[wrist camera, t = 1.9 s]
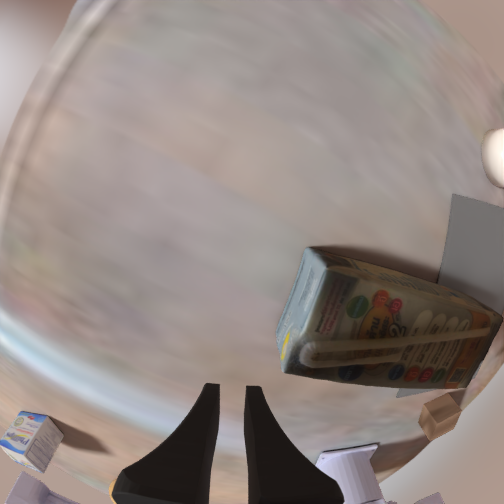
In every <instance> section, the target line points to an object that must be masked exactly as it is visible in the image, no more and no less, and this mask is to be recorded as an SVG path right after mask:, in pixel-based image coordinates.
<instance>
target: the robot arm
mask: <svg viewBox="0 0 504 504" xmlns="http://www.w3.org/2000/svg"><path fill="white" fill-rule="evenodd" d="M219 415H220V384H212V383H206V384H205V385H204V387H203V390H202V392H201V394H200V396H199V397H198V399H197V401H196V403H195V404H194V406H193V407H192V409H191V410H190V412H189V413H188V415H187V416H186V417H185V419H184V420H183V421H182V422H181V424H180V425H179V426H178V427H177V428H176V430H175V431H174V432H173V433H172V434H171V435H170V436H169V437H168V438H167V439H166V440H165V441H164V442H163V443H161V444H160V445H159V446H158V447H157V448H156V449H154V450H153V451H152V452H150V453H149V454H147V455H146V456H145V457H143V458H142V459H140V460H139V461H137V462H135V463H134V464H132V465H130V466H128V467H126V468H125V469H123V470H122V471H121V473H120V474H119V476H118V478H117V480H116V482H115V484H114V488H113V491H112V494H111V496H112V498H113V499H114V501H115V502H116V503H117V504H209V490H210V476H211V467H212V461H213V456H214V451H215V445H216V440H217V435H218V429H219ZM244 437H245V446H246V455H247V464H248V504H397V502H393V501H389V502H387V503H386V501H385V500H384V498H383V495H382V492H381V489H380V487H379V484H378V481H377V479H376V476H375V474H374V471H373V468H372V466H371V463H370V461H369V460H370V458H371V457H372V455H373V454H374V452H375V451H376V449H377V447H378V446H377V444H374V445H369V446H363V447H358V448H352V449H345V450H338V451H331V452H323V453H321V454H320V457H319V459H318V461H317V463H316V465H314V464H312V463H311V462H310V461H309V460H308V459H307V458H306V457H305V456H304V455H303V454H302V453H301V452H300V451H299V450H298V449H297V448H296V447H295V446H294V444H293V443H292V442H291V441H290V440H289V438H288V437H287V436H286V434H285V433H284V432H283V430H282V429H281V427H280V426H279V424H278V422H277V421H276V419H275V417H274V416H273V414H272V412H271V410H270V408H269V406H268V404H267V402H266V399H265V397H264V394H263V391H262V388H261V387H260V386H246V397H245V409H244ZM5 504H79V503H77V502H74V501H72V500H70V499H68V498H65V497H63V496H61V495H59V494H57V493H55V492H53V491H51V490H49V488H48V487H47V486H46V485H45V484H44V483H43V482H41V481H40V480H38V479H36V478H34V477H33V476H31V475H29V474H28V473H26V472H24V471H21V473H20V475H19V476H18V478H17V480H16V482H15V484H14V486H13V488H12V489H11V491H10V493H9V495H8V497H7V499H6V501H5ZM414 504H445V503H444V501H443V499H442V497H441V495H440V493H435V494H433V495H431V496H428V497H426V498H424V499H421V500H419V501H417V502H416V503H414Z"/></svg>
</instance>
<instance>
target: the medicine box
mask: <svg viewBox="0 0 504 504" xmlns="http://www.w3.org/2000/svg"><path fill="white" fill-rule="evenodd" d="M63 437H64V435H63V434H62V432H61V431H60V430H59V429H58V428H57V426H56V425H55V424H54V423H53V422H52V420H51V419H50V418H49V416H47V415H40V414H34V413H28V412H23V411H21V412H20V413H19V414H18V416H17V417H16V418H15V420H14V421H13V423H12V424H11V425H10V427H9V428H8V430H7V431H6V432H5V434H4V435H3V437H2V438H1V440H0V447H1V448H2V449H3V450H4V451H5V452H6V453H7V454H8V455H9V456H10V457H11V458H12V459H13V460H14V461H15V462H17V463H20V464H22V465H24V466H27V467H29V468H31V469H34V470H36V471H39V472H42V473H45V471H46V469H47V467H48V465H49V463H50V461H51V459H52V457H53V455H54V453H55V451H56V450H57V448H58V446H59V444H60V442H61V440H62V439H63Z"/></svg>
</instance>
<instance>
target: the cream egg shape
mask: <svg viewBox="0 0 504 504" xmlns="http://www.w3.org/2000/svg"><path fill="white" fill-rule="evenodd" d="M481 155H482V163H483V167H484V170H485V173H486V175H487V177H488V179H489V180H490V182H491V183H492V184H493V185H494V186H496V187H502V188H504V129H491V130H489V131H487V132H486V133H485V135H484V137H483V140H482V147H481Z"/></svg>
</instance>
